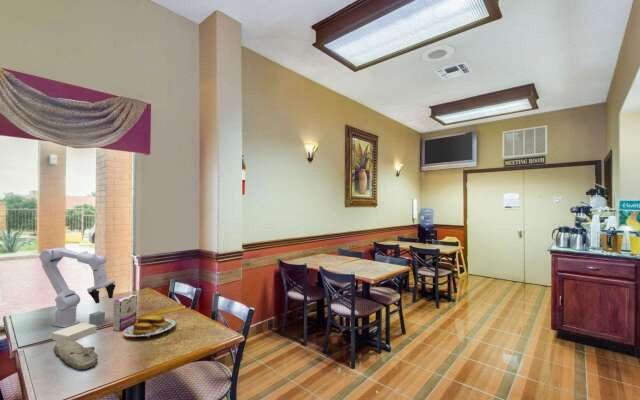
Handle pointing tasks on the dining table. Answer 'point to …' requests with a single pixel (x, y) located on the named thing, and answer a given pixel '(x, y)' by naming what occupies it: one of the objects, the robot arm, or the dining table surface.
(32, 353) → the dining table surface
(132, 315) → the candy bar box
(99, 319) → the slate block
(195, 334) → the dining table surface
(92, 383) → the dining table surface
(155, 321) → the food on plate
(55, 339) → the cream box
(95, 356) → the long grey stone
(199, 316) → the dining table surface
